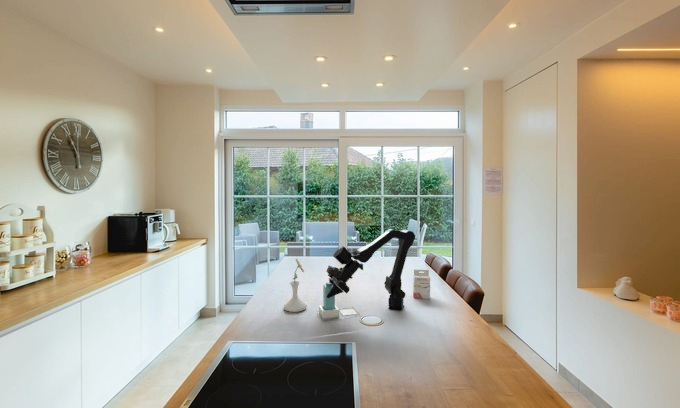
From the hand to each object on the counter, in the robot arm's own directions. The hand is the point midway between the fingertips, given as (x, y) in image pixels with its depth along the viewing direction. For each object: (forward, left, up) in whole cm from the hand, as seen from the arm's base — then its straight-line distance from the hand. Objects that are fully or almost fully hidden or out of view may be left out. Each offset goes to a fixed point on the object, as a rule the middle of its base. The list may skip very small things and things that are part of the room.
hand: (326, 295), depth 160 cm
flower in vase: (+18, -2, -10) cm, 21 cm away
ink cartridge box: (-35, -45, -10) cm, 58 cm away
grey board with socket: (-4, -4, -10) cm, 11 cm away
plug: (-1, -1, -7) cm, 7 cm away
